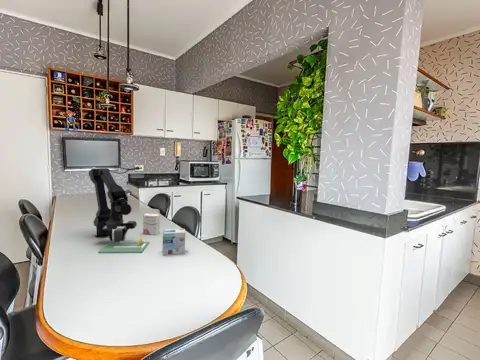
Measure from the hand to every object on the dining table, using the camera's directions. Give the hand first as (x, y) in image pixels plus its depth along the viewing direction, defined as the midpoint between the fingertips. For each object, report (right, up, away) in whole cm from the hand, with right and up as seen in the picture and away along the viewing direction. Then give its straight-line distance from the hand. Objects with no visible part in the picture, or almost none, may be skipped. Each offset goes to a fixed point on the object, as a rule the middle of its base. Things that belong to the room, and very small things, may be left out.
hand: (117, 240), depth 133 cm
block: (0, +2, +1) cm, 2 cm away
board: (+8, -2, -7) cm, 11 cm away
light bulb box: (+33, -3, -10) cm, 35 cm away
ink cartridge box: (+12, 0, +17) cm, 21 cm away
